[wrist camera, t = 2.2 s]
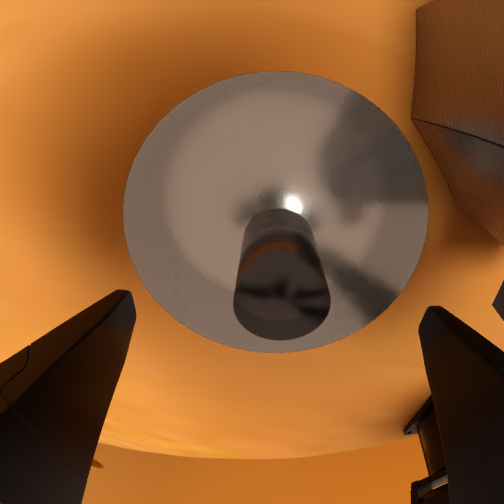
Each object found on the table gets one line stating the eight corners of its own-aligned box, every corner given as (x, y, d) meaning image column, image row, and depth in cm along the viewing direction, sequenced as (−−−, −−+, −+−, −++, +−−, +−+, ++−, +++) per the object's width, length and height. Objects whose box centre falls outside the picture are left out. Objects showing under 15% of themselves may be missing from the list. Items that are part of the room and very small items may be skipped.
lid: (377, 338, 16) (400, 411, 12) (153, 326, 16) (124, 399, 12) (438, 103, 10) (520, 121, 5) (126, 78, 10) (46, 79, 5)
